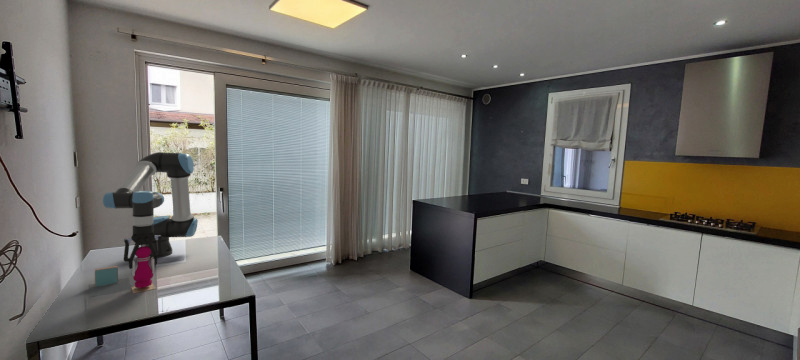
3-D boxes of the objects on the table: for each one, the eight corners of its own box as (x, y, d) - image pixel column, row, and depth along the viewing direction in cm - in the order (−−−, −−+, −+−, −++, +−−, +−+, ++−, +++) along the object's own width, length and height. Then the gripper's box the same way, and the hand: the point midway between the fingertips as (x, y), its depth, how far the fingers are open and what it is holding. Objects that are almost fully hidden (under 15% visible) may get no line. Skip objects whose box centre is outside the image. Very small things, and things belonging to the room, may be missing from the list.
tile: (117, 281, 155) (117, 265, 154) (118, 283, 154) (117, 266, 153) (94, 285, 149) (94, 269, 149) (95, 287, 148) (94, 270, 147)
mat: (127, 278, 160) (127, 278, 160) (131, 289, 148) (131, 289, 148) (88, 285, 150) (88, 284, 150) (89, 297, 138) (89, 297, 138)
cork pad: (152, 284, 155) (152, 283, 155) (155, 289, 149) (155, 288, 149) (131, 288, 149) (131, 287, 149) (133, 294, 144) (133, 292, 144)
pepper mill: (129, 286, 147) (129, 243, 146) (147, 281, 154) (146, 240, 153) (139, 289, 145) (139, 246, 143) (156, 284, 151) (156, 242, 150)
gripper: (167, 221, 157) (167, 266, 158) (114, 225, 143) (114, 275, 145) (170, 223, 152) (170, 271, 153) (115, 228, 138) (116, 280, 139)
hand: (143, 273), depth 149 cm, fingers closed on pepper mill, 6 cm apart
